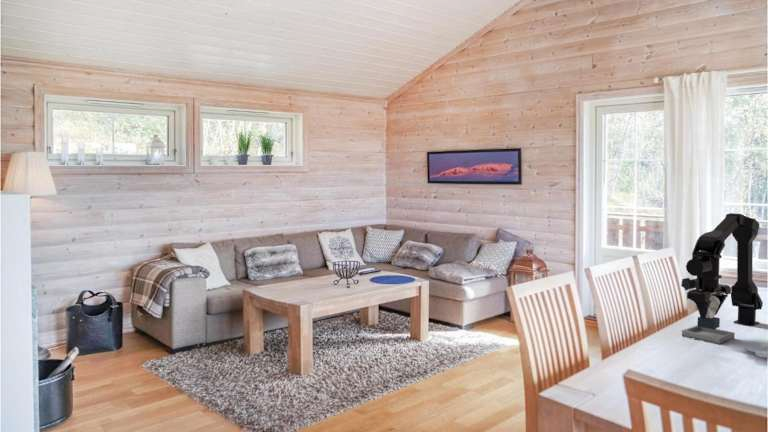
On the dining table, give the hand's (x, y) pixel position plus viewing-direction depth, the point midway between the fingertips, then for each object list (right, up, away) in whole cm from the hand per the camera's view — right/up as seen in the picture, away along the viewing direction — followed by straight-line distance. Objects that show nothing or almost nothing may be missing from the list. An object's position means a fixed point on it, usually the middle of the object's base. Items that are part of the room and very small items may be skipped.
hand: (708, 316), depth 208 cm
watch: (0, -4, 0) cm, 4 cm away
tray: (0, -7, +1) cm, 7 cm away
